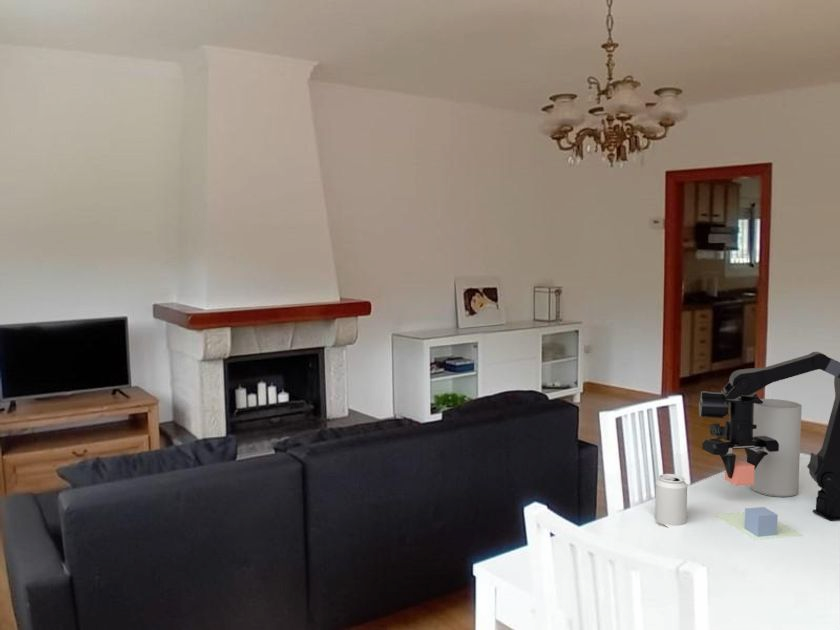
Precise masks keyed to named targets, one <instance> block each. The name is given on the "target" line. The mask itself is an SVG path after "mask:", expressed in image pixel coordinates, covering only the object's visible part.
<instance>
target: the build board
mask: <svg viewBox="0 0 840 630" xmlns="http://www.w3.org/2000/svg"><path fill="white" fill-rule="evenodd" d="M714 516H715V517H716V518H718V519H719V520H721V521H723V522H725V523H726V524H728V525H729V526H731V527H733V528H734V529H735V530H737V531H739V532H740V533H742V534H744V535H745V536H747V538H749V539H752V540H753V541H761V540H772V539H784V538H785V539H786V538H795V537H804V536H805V535H804V534H802V533H800V532H798V531H796V529H795V530H794V529H793V528H791V527H789V526H787V525H786V524H784V523H782V522H781V521H779V520H777V535H773V536H762V537H757V536H756V535H754V534H752V533H751V532H749V531H748V530H746V529H744V527H745V511H744V512H742V511H741V512H731V513H718V514H714Z"/></svg>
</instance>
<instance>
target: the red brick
mask: <svg viewBox="0 0 840 630" xmlns="http://www.w3.org/2000/svg"><path fill="white" fill-rule="evenodd" d="M754 469H755V466H754V465H752V464H750V463H748V462H747V460H746V461H745V460H744V459H740V460H735V466H734V473H733V477H732V478H729V477H728V474H727V472H726V469H724V470H725V471H724V480H725V481H727V482H729V483H731V484H732V485H735V486H737V487H738V486H749V485H754Z"/></svg>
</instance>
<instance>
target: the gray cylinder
mask: <svg viewBox="0 0 840 630" xmlns="http://www.w3.org/2000/svg"><path fill="white" fill-rule="evenodd" d="M760 399H761V400H762V401H763V403H762V404H756V403H754V422H753V424H755V425H757V429H753V437H754V436H767V437H770V438H772V439H775V440H777V442H778V443H779V451H776V452H769V451H767V450H766V447H764V451H765V452H767V453H768V455H765V456H764V457H763V459H762V460H761V461H760V463H759V464H758V466H757V467H756V469H755V470H754V485H748V486H749V488H750V489H751V490H752V491H754V492H756V493H758V494H762V495H765V496H768V497H778V498H788V497H793V496H795V495H797V494H798V493H799V484H800V483H799V482H800V479H799V478H800V460H801V459H800V456H801V434H802V433H801V432H802V409H803V405H802V404H800V403H798V402H795V401H791V400H787V399H786V400H785V399H775V398H760Z"/></svg>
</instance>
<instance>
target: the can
mask: <svg viewBox="0 0 840 630" xmlns="http://www.w3.org/2000/svg"><path fill="white" fill-rule="evenodd" d="M685 480H686V479H685V477H684V476H682V475H680V474H674V473H664V474H663V473H662V474H660V475H658V477H657V480H655V490H654V491H655V500H654V520H655V522H657V523H658V525H659V526H662V527H664V528H667V529H669V526H674V527H677V526H678V527H679V526H683V525H685V524H687V514H688V512H687V509H688V484H687V482H686V481H685Z"/></svg>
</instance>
